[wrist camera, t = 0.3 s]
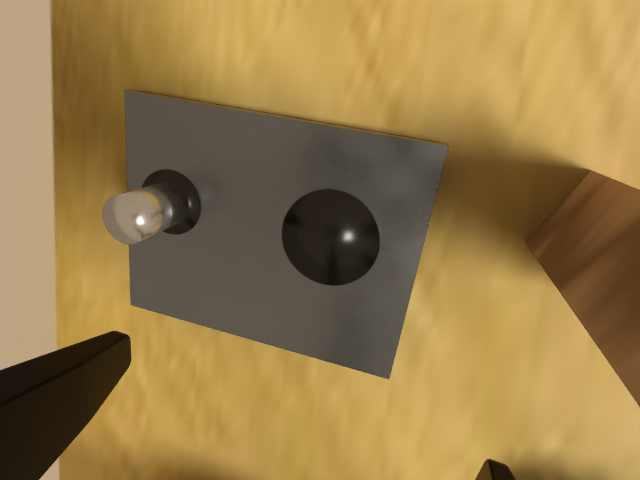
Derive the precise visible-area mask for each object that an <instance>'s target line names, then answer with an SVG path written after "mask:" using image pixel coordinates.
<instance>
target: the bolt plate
mask: <svg viewBox="0 0 640 480" xmlns="http://www.w3.org/2000/svg"><path fill="white" fill-rule="evenodd" d="M125 120H126V156H127V191H128V192H126V193H123V194H119V195H116V196H113V197H111V198H109V199H108V200H107V201H106V203H105V204H104V207H103V221H104V224H105V226H106V228H107V230H108V231H109V233H110V234H111V235H112V236H113V237H114V238H115V239H116V240H118V241H120V242H122V243H125V244H129V262H130V298H131V305H133V306H136V307H139V308H143V309H146V310H150V311H153V312H157V313H160V314H164V315H167V316H171V317H174V318H178V319H181V320H185V321H188V322H192V323H195V324H199V325H202V326H206V327H209V328H212V329H216V330H219V331H223V332H226V333H230V334H233V335H237V336H240V337H244V338H247V339H251V340H254V341H258V342H261V343H265V344H268V345H272V346H275V347H278V348H282V349H285V350H289V351H292V352H296V353H299V354H303V355H306V356H310V357H313V358H317V359H320V360H324V361H327V362H331V363H334V364H338V365H341V366H344V367H348V368H351V369H355V370H358V371H362V372H365V373H369V374H372V375H376V376H379V377H383V378H386V379H389V378H390V374H391V370H392V366H393V362H394V358H395V354H396V350H397V347H398V343H399V339H400V335H401V331H402V327H403V323H404V319H405V315H406V311H407V307H408V303H409V300H410V296H411V292H412V288H413V284H414V280H415V276H416V272H417V268H418V264H419V260H420V256H421V253H422V249H423V245H424V241H425V237H426V233H427V229H428V225H429V221H430V217H431V213H432V209H433V206H434V202H435V198H436V194H437V190H438V186H439V182H440V178H441V174H442V170H443V166H444V162H445V158H446V155H447V151H448V147H449V146H448V144H444V143H439V142H433V141H427V140H421V139H415V138H410V137H404V136H398V135H392V134H386V133H380V132H375V131H369V130H363V129H357V128H351V127H345V126H340V125H334V124H328V123H322V122H316V121H311V120H305V119H299V118H293V117H287V116H281V115H276V114H270V113H264V112H258V111H252V110H247V109H241V108H235V107H229V106H223V105H217V104H212V103H206V102H200V101H194V100H188V99H183V98H177V97H171V96H165V95H159V94H153V93H148V92H142V91H128V90H125Z"/></svg>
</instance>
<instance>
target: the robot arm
mask: <svg viewBox="0 0 640 480" xmlns="http://www.w3.org/2000/svg"><path fill="white" fill-rule="evenodd" d="M130 363H131V342H130V337H129V336H128V335H127V334H124V333H121V332H118V331H111V332H108V333H105V334H102V335H100V336H97V337H94V338H91V339H88V340H85V341H82V342H80V343H77V344H74V345H71V346H68V347H65V348H62V349H60V350H57V351H54V352H51V353H48V354H46V355H42V356H40V357H37V358H34V359H31V360H28V361H25V362H23V363H20V364H17V365H14V366H11V367H8V368H5V369H3V370H0V480H39V479H40V478H41V477H42V476H43V474H44V473H45V472H46V471H47V470H48V469H49V467H50V466H51V465H52V464H53V463H54V462H55V461H56V460H57V458H58V457H59V456H60V455H61V454H62V453H63V451H64V450H65V449H66V448H67V447H68V446H69V445H70V443H71V442H72V441H73V440H74V439H75V438H76V437H77V435H78V434H79V433H80V432H81V431H82V430H83V429H84V427H85V426H86V425H87V424H88V423H89V421H90V420H91V419H92V418H93V416H94V415H95V414H96V412H97V411H98V410H99V408H100V407H101V405H102V404H103V403H104V401H105V400H106V398H107V397H108V396H109V394H110V393H111V391H112V390H113V389H114V387H115V386H116V385H117V383H118V382H119V380H120V379H121V378H122V376H123V375H124V373H125V372H126V371H127V369H128V368H129V366H130ZM475 480H516V478H515V477H514V475H513V474H512V472H511V470H510V469H509V467H508V466H507V465H505V464H503V463H501V462H498V461H495V460H492V459H487V460H486V461H485V462H484V464H483V466H482V468H481V470H480V472H479V473H478V475H477V477H476V479H475Z"/></svg>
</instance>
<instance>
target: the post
mask: <svg viewBox="0 0 640 480" xmlns="http://www.w3.org/2000/svg"><path fill="white" fill-rule="evenodd" d="M526 244H527V246H528V247H529V249H530V250H531V252H532V253H533V254H534V256H535V257H536V259H537V260H538V262H539V263H540V265H541V266H542V267H543V269H544V270H545V272H546V273H547V275H548V276H549V277H550V279H551V280H552V282H553V283H554V285H555V286H556V287H557V289H558V290H559V292H560V293H561V295H562V296H563V297H564V299H565V300H566V302H567V303H568V305H569V306H570V308H571V309H572V310H573V312H574V313H575V315H576V316H577V318H578V319H579V320H580V322H581V323H582V325H583V326H584V328H585V329H586V330H587V332H588V333H589V335H590V336H591V338H592V339H593V340H594V342H595V343H596V345H597V346H598V348H599V349H600V350H601V352H602V353H603V355H604V356H605V358H606V359H607V361H608V362H609V363H610V365H611V366H612V368H613V369H614V371H615V372H616V373H617V375H618V376H619V378H620V379H621V381H622V382H623V383H624V385H625V386H626V388H627V389H628V391H629V392H630V393H631V395H632V396H633V398H634V399H635V401H636V402H637V404H638V405H639V406H640V190H639V189H636V188H634V187H631V186H629V185H626V184H624V183H621V182H619V181H616V180H614V179H611V178H609V177H606V176H604V175H602V174H599V173H597V172H594V171H592V170H590V172H589V173H588V174H587V175H586V176H585V177H584V178H583V179H582V180H581V182H580V183H579V184H578V185H577V186H576V187H575V188H574V189H573V190H572V192H571V193H570V194H569V195H568V196H567V197H566V198H565V199H564V200H563V202H562V203H561V204H560V205H559V206H558V207H557V208H556V209H555V210H554V212H553V213H552V214H551V215H550V216H549V217H548V218H547V219H546V220H545V222H544V223H543V224H542V225H541V226H540V227H539V228H538V229H537V230H536V231H535V233H534V234H533V235H532V236H531V237H530V238H529V239H528V240H527V241H526Z"/></svg>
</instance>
